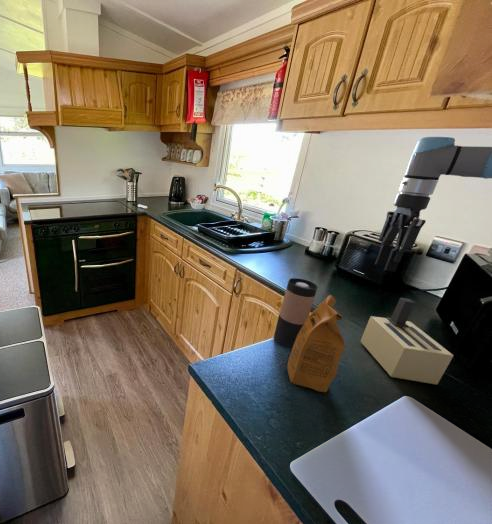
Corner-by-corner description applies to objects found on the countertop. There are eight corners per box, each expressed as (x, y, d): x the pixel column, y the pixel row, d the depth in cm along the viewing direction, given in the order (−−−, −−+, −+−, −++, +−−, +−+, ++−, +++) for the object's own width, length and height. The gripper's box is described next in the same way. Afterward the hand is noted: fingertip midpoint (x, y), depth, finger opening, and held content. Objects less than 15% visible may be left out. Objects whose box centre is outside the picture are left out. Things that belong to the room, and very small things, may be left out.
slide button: (386, 318, 87) (396, 296, 84) (399, 320, 86) (409, 297, 83) (394, 325, 83) (405, 302, 80) (408, 327, 83) (419, 304, 80)
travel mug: (268, 333, 93) (283, 277, 86) (292, 335, 93) (309, 279, 86) (278, 348, 86) (295, 288, 79) (304, 350, 86) (323, 290, 79)
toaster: (359, 342, 92) (370, 315, 88) (397, 348, 90) (410, 321, 87) (390, 378, 77) (405, 347, 74) (436, 386, 76) (454, 355, 72)
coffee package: (326, 369, 79) (353, 298, 71) (329, 400, 69) (361, 321, 61) (287, 355, 83) (308, 287, 75) (284, 383, 73) (308, 307, 65)
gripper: (382, 189, 93) (358, 257, 102) (421, 196, 77) (388, 276, 85) (408, 192, 92) (381, 260, 101) (453, 199, 76) (416, 280, 84)
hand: (384, 267), depth 93 cm, fingers open, 4 cm apart
